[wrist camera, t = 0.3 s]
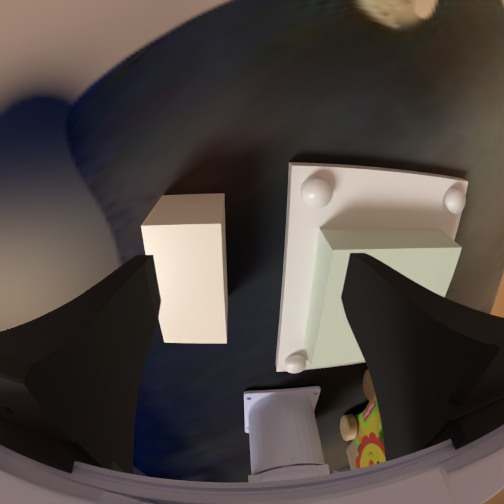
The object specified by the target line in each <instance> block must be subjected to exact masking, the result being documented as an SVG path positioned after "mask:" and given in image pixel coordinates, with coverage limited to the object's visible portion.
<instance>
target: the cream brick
mask: <svg viewBox="0 0 504 504" xmlns="http://www.w3.org/2000/svg"><path fill="white" fill-rule="evenodd" d="M141 229H142V235H143V241H144V247H145V253H146V255H153V257H154V263H155V269H156V275H157V281H158V286H159V292H160V297H161V305H160V311H159V316H158V318H159V322H160V326H161V330H162V334H163V338H164V342H168V343H227V309H228V290H227V264H226V232H225V193H219V194H183V195H162V197H161V198H160V200H159V201H158V202H157V204H156V205H155V207H154V208H153V209H152V211H151V212H150V214H149V215H148V216H147V218H146V219H145V221H144V222H143V224H142V225H141Z"/></svg>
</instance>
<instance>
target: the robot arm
mask: <svg viewBox="0 0 504 504" xmlns="http://www.w3.org/2000/svg"><path fill="white" fill-rule="evenodd" d="M341 300H342V304H343V307H344V311H345V314H346V318H347V320H348V323H349V325H350V327H351V330H352V332H353V334H354V337H355V339H356V341H357V343H358V346H359V348H360V350H361V353H362V355H363V357H364V360H365V362H366V364H367V367H368V370H369V373H370V376H371V380H372V383H373V387H374V391H375V395H376V399H377V404H378V408H379V413H380V419H381V425H382V431H383V438H384V448H385V459H386V462H382V463H379V464H375V465H371V466H367V467H363V468H358V469H354V470H349V471H344V472H339V473H338V472H337V471H335V470H334V471H329V466H328V464H325V462H324V457H323V452H322V447H321V442H320V438H319V433H318V428H317V424H316V419H315V414H314V410H315V407H316V404H317V401H318V397H319V394H320V391H321V389H320V387H319V386H311V387H300V388H289V389H274V390H254V391H246V392H244V414H245V432H246V433H249V437H250V455H251V472H252V475H249V476H248V481H249V483H212V482H192V481H180V480H169V479H161V478H153V477H146V476H140V475H134V474H133V441H134V425H135V415H136V406H137V398H138V391H139V385H140V379H141V375H142V371H143V368H144V364H145V361H146V358H147V354H148V351H149V348H150V345H151V342H152V338H153V335H154V332H155V329H156V326H157V322H158V316H159V311H160V305H161V297H160V292H159V286H158V281H157V275H156V269H155V263H154V257H153V255H137V256H135V257H133V258H132V259H130V260H129V261H127V262H126V263H125V264H123V265H122V266H121V267H119V268H118V269H117V270H115V271H114V272H113V273H111V274H110V275H108V276H107V277H106V278H105V279H103V280H102V281H100V282H99V283H98V284H96V285H94V286H93V287H92V288H90V289H89V290H87V291H86V292H85V293H83V294H81V295H80V296H78V297H77V298H75V299H73V300H72V301H70V302H68V303H66V304H65V305H63V306H61V307H59V308H57V309H56V310H53V311H51V312H49V313H47V314H45V315H43V316H41V317H39V318H37V319H35V320H32V321H30V322H27V323H25V324H22V325H19V326H17V327H14V328H11V329H8V330H5V331H1V332H0V504H483V503H485V502H486V501H488V500H489V499H490V498H491V497H493V496H495V495H496V494H497V493H498V492H500V491H501V490H502V489H504V318H501V317H498V316H494V315H490V314H487V313H483V312H480V311H477V310H474V309H471V308H469V307H466V306H463V305H461V304H458V303H456V302H453V301H451V300H449V299H447V298H445V297H443V296H440V295H438V294H436V293H434V292H432V291H430V290H428V289H427V288H425V287H423V286H421V285H420V284H418V283H416V282H414V281H413V280H411V279H409V278H407V277H406V276H404V275H402V274H401V273H399V272H398V271H396V270H394V269H393V268H391V267H389V266H388V265H386V264H385V263H383V262H381V261H380V260H378V259H376V258H374V257H372V256H370V255H368V254H366V253H350V256H349V261H348V266H347V271H346V276H345V281H344V286H343V290H342V295H341Z"/></svg>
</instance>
